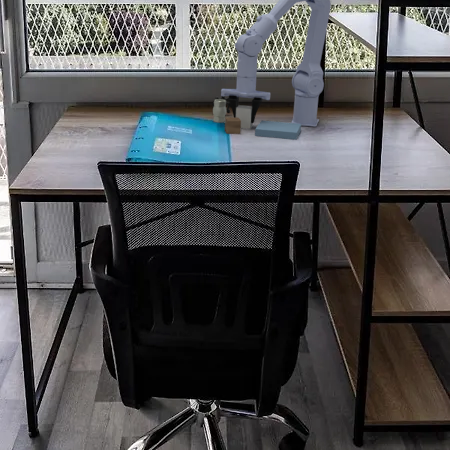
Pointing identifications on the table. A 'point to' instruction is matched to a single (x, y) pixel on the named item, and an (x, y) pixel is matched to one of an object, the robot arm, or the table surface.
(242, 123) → the white block
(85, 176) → the table surface
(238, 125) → the walnut block
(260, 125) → the base board
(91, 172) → the table surface
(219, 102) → the valve
